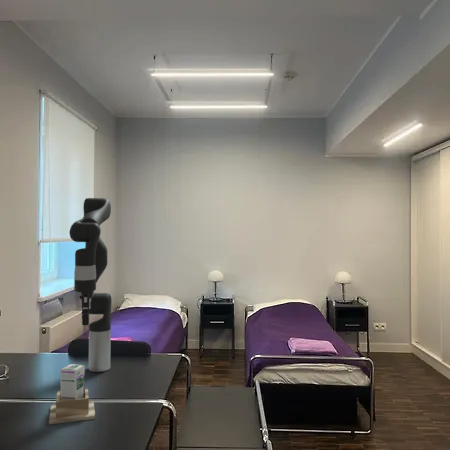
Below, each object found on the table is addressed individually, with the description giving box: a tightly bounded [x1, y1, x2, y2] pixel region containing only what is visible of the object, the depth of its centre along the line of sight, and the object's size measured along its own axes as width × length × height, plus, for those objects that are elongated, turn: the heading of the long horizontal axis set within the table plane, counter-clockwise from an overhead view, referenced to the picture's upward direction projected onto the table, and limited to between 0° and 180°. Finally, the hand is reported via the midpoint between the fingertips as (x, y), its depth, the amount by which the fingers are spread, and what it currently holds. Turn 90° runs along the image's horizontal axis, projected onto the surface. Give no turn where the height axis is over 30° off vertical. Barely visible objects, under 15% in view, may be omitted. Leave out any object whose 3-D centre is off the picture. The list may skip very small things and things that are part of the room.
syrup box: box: [60, 363, 86, 401], centre depth 149 cm, size 6×6×14 cm
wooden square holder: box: [48, 387, 96, 425], centre depth 149 cm, size 14×14×6 cm
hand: (85, 322), depth 161 cm, fingers open, 8 cm apart
